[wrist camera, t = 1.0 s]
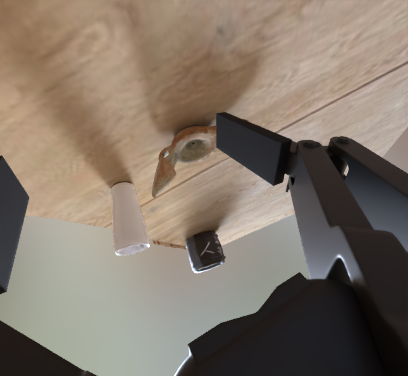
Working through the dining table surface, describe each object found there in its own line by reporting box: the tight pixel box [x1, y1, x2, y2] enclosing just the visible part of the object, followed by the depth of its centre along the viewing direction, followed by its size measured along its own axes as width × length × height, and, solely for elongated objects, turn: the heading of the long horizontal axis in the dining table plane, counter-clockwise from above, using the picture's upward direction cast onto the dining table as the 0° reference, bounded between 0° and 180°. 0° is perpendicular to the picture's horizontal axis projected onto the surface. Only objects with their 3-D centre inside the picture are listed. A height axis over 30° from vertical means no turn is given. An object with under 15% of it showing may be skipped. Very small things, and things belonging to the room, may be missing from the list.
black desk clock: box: [186, 231, 225, 273], centre depth 106 cm, size 18×18×16 cm
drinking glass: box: [111, 182, 149, 256], centre depth 45 cm, size 7×7×15 cm
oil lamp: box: [152, 119, 247, 198], centre depth 39 cm, size 9×21×10 cm, turn 102°
